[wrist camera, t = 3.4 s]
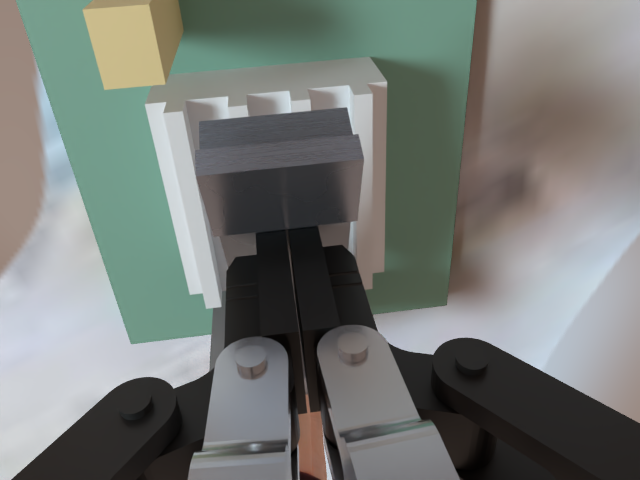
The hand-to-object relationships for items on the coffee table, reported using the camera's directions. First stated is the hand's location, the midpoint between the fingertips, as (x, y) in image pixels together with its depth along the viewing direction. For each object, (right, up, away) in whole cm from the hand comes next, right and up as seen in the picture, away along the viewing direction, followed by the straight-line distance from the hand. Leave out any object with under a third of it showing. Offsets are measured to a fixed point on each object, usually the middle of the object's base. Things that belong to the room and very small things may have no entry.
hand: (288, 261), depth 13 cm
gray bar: (0, 0, +4) cm, 4 cm away
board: (-1, +4, +10) cm, 11 cm away
